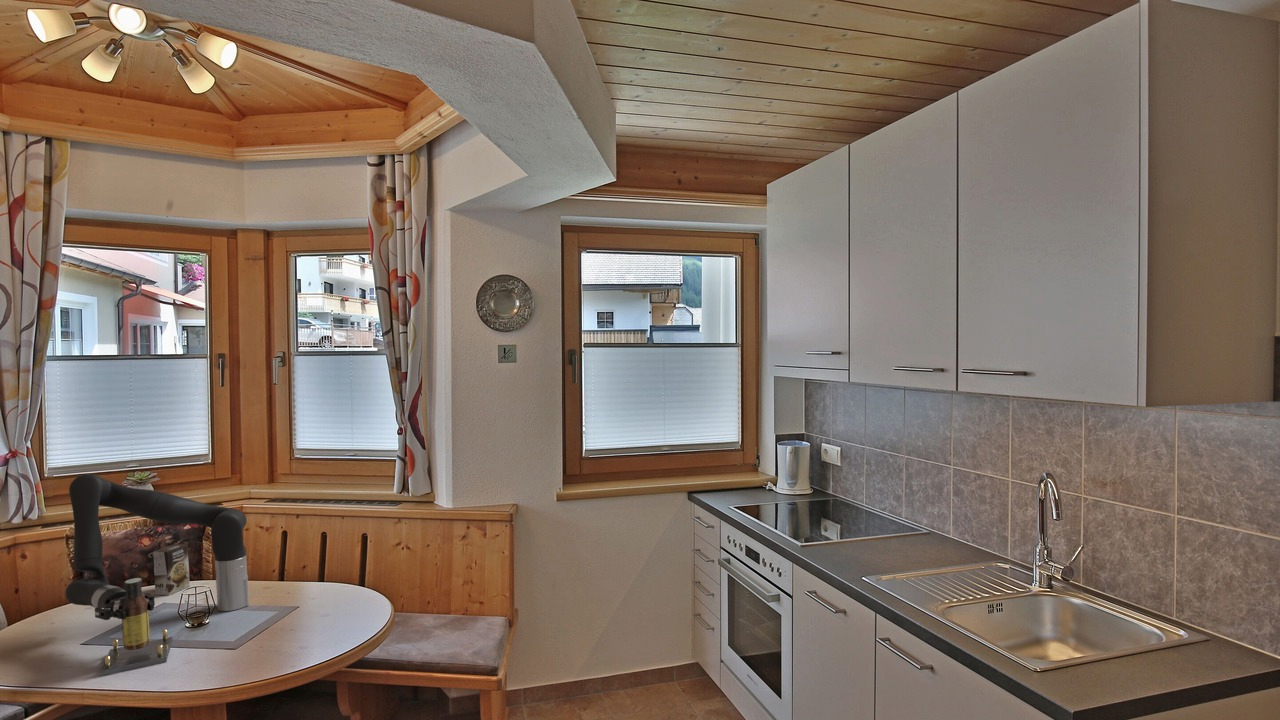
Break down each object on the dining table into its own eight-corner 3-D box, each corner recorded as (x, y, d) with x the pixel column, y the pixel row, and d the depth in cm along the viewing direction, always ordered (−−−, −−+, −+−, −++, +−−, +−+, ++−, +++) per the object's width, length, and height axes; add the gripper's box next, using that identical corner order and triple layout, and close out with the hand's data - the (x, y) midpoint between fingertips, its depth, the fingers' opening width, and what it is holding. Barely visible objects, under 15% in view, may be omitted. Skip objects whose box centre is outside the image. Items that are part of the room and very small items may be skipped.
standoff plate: (172, 641, 207) (171, 627, 207) (166, 661, 194) (165, 646, 194) (110, 654, 200) (109, 639, 200) (100, 676, 187) (99, 660, 186)
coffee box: (169, 595, 245) (166, 551, 244) (154, 594, 246) (152, 551, 245) (190, 586, 254) (188, 544, 253) (176, 585, 255) (174, 543, 254)
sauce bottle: (132, 642, 200) (130, 575, 199) (154, 641, 200) (152, 575, 199) (117, 652, 193) (114, 584, 192) (140, 651, 194) (137, 583, 193)
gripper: (82, 596, 197) (108, 607, 189) (138, 580, 210) (165, 590, 201) (83, 621, 198) (109, 634, 189) (139, 603, 210) (166, 614, 201)
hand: (138, 611), depth 195 cm, fingers closed on sauce bottle, 6 cm apart
